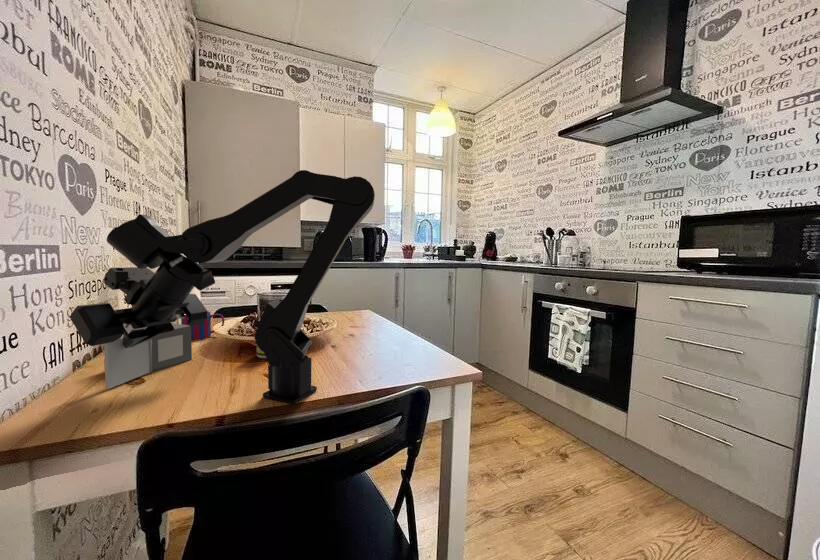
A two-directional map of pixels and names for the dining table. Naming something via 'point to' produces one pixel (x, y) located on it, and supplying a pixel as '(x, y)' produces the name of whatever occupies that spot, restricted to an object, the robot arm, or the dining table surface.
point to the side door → (126, 361)
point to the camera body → (172, 347)
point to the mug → (201, 327)
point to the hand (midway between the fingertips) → (127, 345)
